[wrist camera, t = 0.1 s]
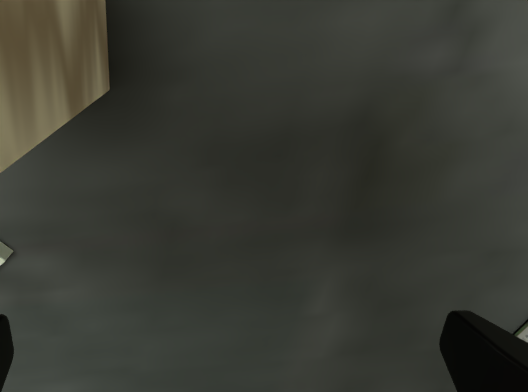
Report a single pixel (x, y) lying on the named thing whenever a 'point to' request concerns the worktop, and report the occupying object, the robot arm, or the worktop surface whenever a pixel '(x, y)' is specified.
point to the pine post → (48, 68)
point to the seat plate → (4, 252)
